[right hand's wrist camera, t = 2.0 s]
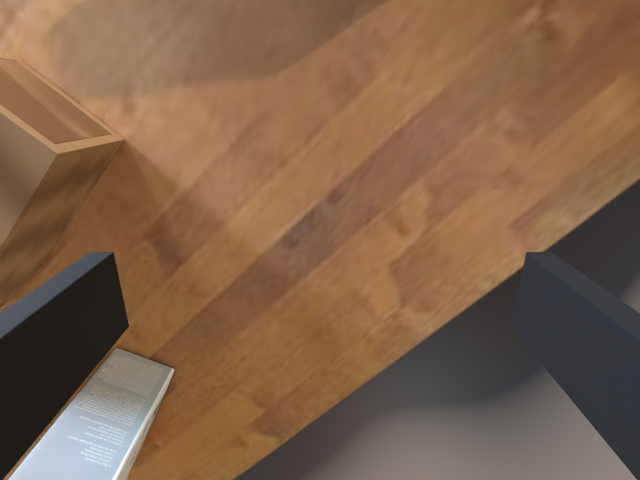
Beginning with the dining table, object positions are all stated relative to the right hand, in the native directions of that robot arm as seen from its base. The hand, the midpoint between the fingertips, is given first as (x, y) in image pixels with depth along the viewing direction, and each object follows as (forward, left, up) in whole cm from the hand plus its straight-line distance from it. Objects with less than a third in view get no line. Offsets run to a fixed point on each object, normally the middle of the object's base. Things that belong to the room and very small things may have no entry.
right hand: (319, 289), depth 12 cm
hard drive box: (+16, -35, -27) cm, 47 cm away
